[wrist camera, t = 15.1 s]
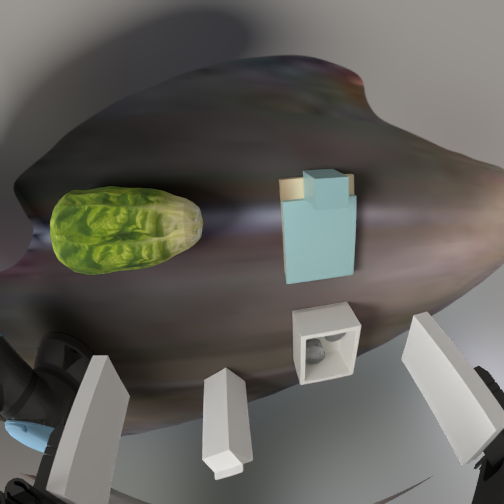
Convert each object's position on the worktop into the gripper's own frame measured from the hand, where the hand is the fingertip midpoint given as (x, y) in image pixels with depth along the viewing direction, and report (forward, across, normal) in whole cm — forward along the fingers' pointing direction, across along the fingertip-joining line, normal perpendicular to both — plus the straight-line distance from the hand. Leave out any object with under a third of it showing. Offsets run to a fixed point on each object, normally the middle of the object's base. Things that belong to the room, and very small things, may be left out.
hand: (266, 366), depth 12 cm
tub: (+33, +12, -28) cm, 45 cm away
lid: (+32, +12, -7) cm, 35 cm away
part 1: (+32, +10, -30) cm, 45 cm away
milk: (+33, -7, -38) cm, 51 cm away
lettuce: (+33, -15, -2) cm, 36 cm away
